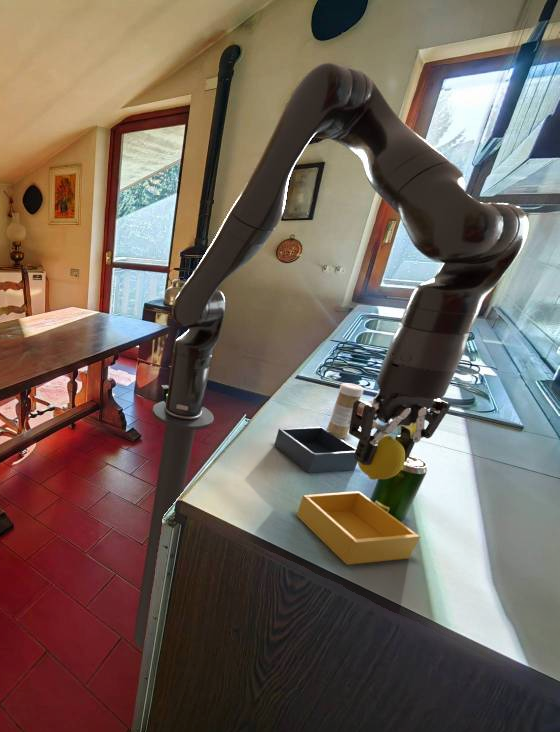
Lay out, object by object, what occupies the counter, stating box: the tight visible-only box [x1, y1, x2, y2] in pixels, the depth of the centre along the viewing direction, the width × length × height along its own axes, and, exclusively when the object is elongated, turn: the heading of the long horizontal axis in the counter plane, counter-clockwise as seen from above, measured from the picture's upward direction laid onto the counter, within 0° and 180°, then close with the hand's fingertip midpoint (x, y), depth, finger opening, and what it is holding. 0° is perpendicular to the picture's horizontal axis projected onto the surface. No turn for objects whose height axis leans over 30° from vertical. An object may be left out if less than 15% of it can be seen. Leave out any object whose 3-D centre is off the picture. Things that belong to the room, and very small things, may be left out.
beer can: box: [369, 454, 429, 523], centre depth 69 cm, size 5×5×12 cm
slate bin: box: [273, 426, 358, 474], centre depth 88 cm, size 11×11×5 cm
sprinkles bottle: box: [325, 382, 365, 439], centre depth 97 cm, size 5×5×13 cm
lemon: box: [357, 434, 405, 481], centre depth 61 cm, size 6×6×8 cm
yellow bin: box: [296, 490, 421, 565], centre depth 66 cm, size 11×11×5 cm
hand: (379, 460), depth 61 cm, fingers closed on lemon, 5 cm apart
